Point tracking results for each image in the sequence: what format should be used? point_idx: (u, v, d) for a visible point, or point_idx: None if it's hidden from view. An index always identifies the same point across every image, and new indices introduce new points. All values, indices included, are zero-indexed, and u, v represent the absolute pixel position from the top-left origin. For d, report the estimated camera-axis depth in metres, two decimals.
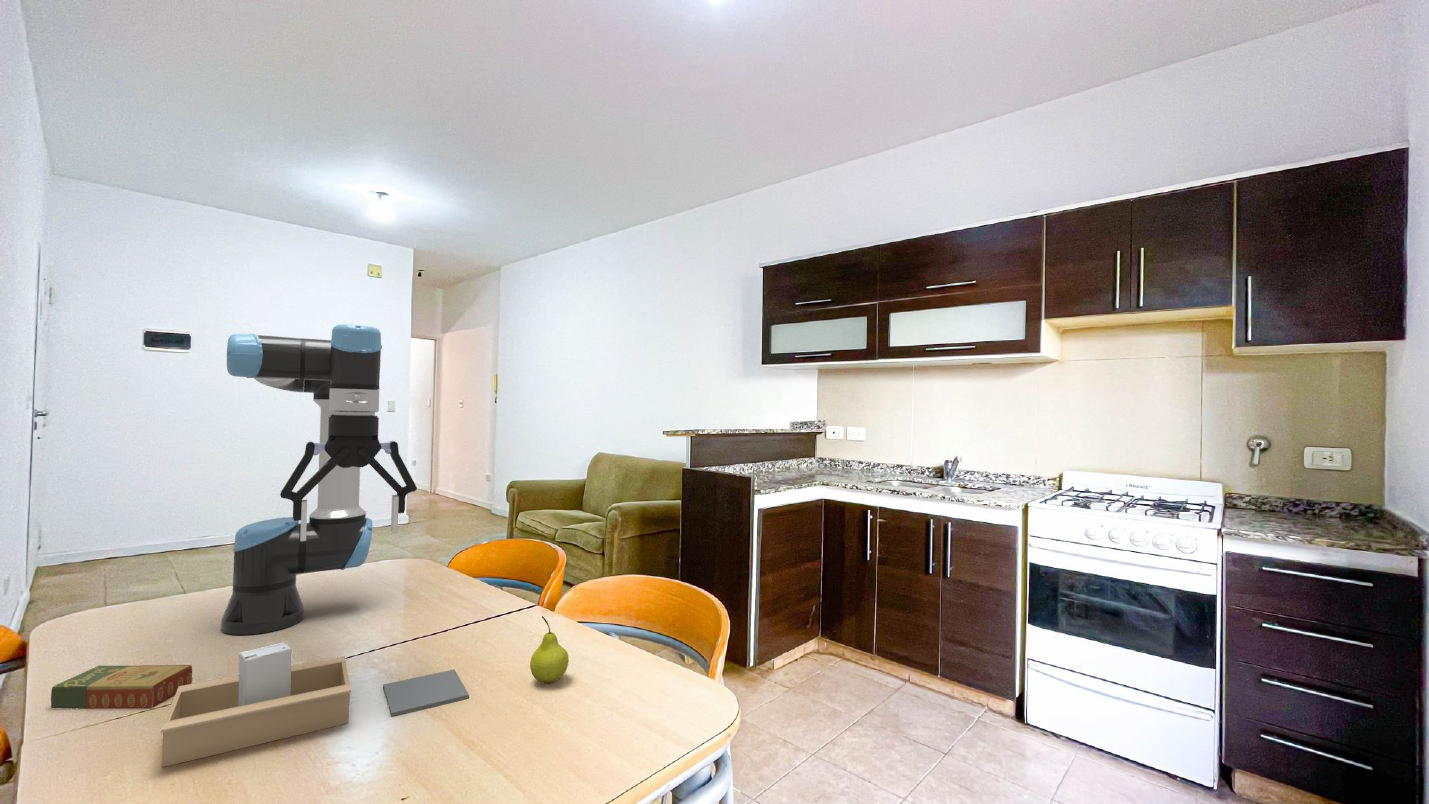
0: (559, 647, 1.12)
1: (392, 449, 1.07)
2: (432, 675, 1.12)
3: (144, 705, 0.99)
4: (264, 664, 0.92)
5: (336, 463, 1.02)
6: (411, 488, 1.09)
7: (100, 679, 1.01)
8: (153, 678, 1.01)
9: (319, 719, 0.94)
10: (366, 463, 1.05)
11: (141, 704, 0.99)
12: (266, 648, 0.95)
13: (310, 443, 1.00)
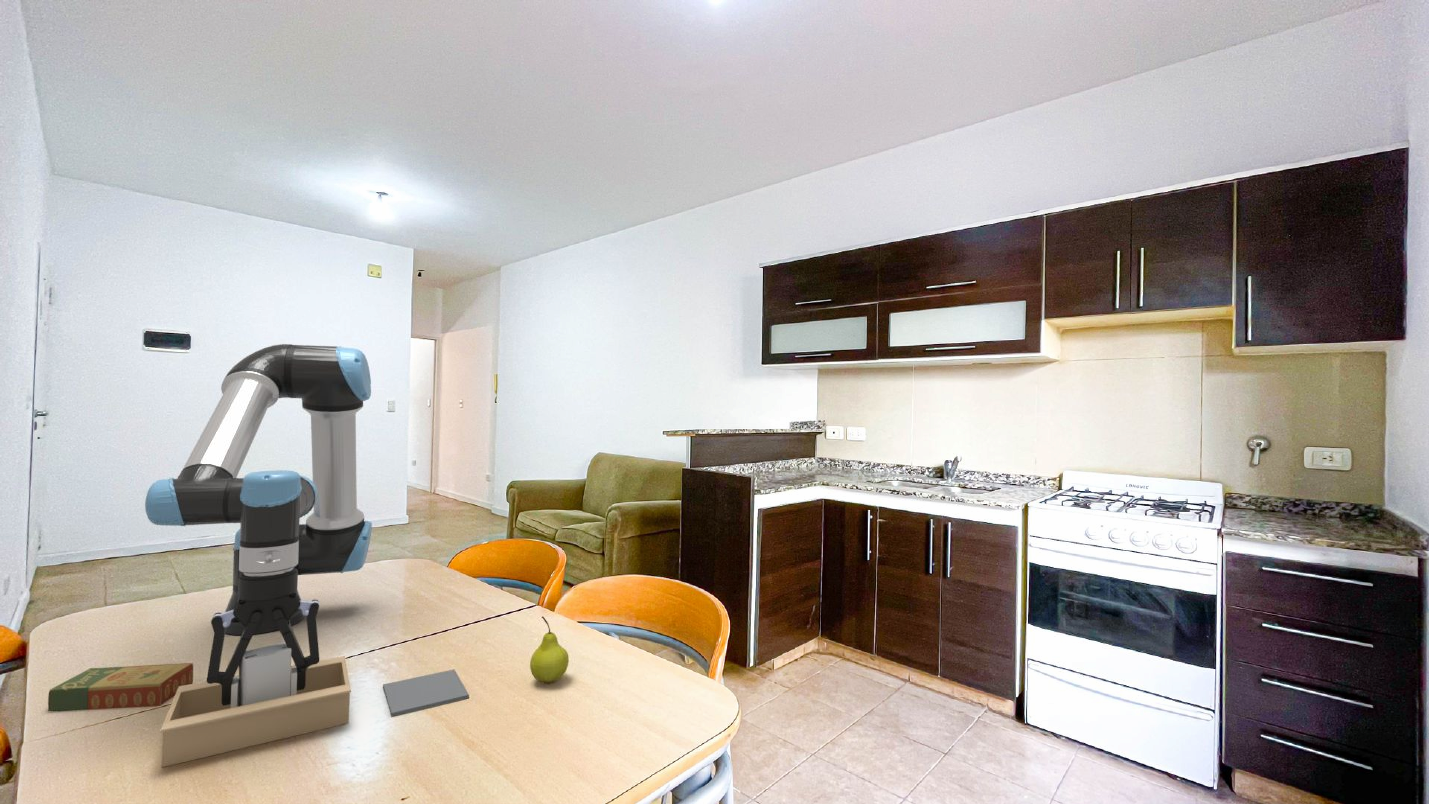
0: (559, 647, 1.12)
1: (310, 612, 0.97)
2: (432, 675, 1.12)
3: (152, 703, 1.00)
4: (264, 664, 0.92)
5: (252, 631, 0.92)
6: (313, 660, 0.97)
7: (100, 680, 1.00)
8: (158, 676, 1.02)
9: (319, 719, 0.94)
10: (276, 626, 0.94)
11: (148, 702, 0.99)
12: (266, 648, 0.95)
13: (214, 619, 0.90)
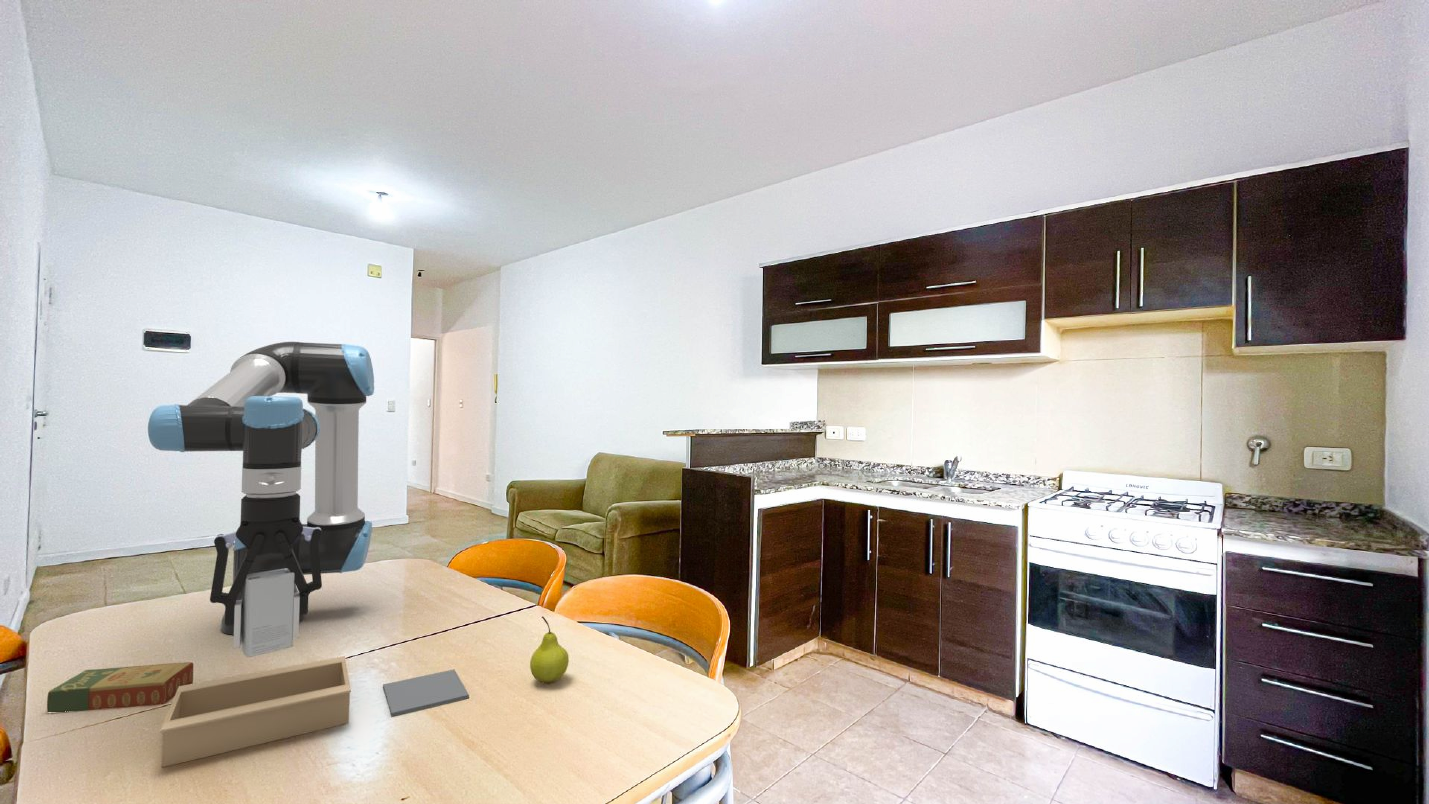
0: (559, 647, 1.12)
1: (313, 537, 0.97)
2: (432, 675, 1.12)
3: (156, 701, 1.00)
4: (267, 586, 0.93)
5: (255, 553, 0.92)
6: (315, 585, 0.97)
7: (100, 681, 1.00)
8: (161, 675, 1.02)
9: (319, 719, 0.94)
10: (278, 549, 0.94)
11: (152, 701, 1.00)
12: (269, 572, 0.95)
13: (217, 539, 0.90)
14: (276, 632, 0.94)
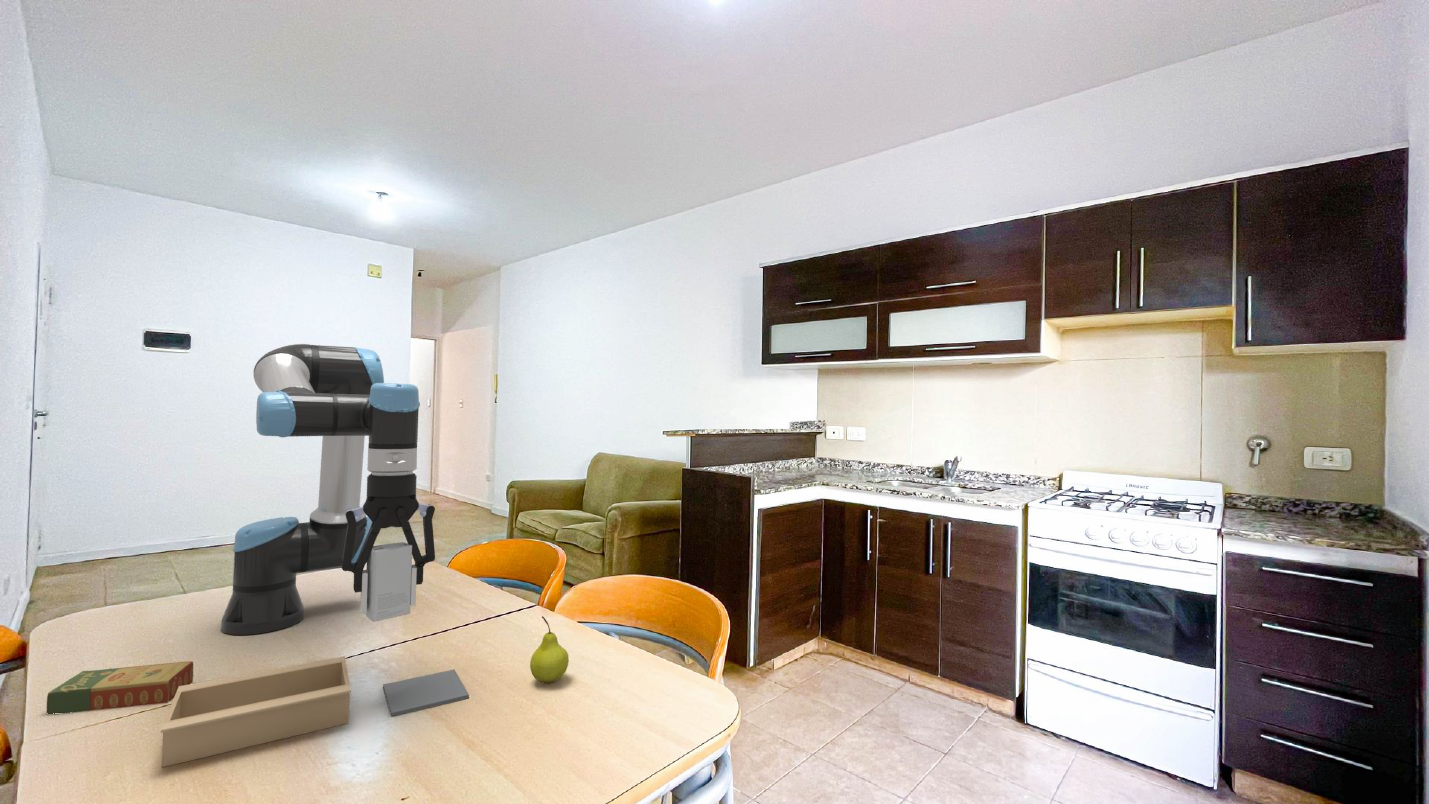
0: (559, 647, 1.12)
1: (427, 513, 1.05)
2: (432, 675, 1.12)
3: (159, 700, 1.00)
4: (390, 557, 1.01)
5: (380, 526, 1.01)
6: (429, 557, 1.06)
7: (100, 681, 1.00)
8: (163, 674, 1.03)
9: (319, 719, 0.94)
10: (399, 524, 1.03)
11: (155, 700, 1.00)
12: (390, 544, 1.03)
13: (348, 512, 0.99)
14: (397, 599, 1.02)
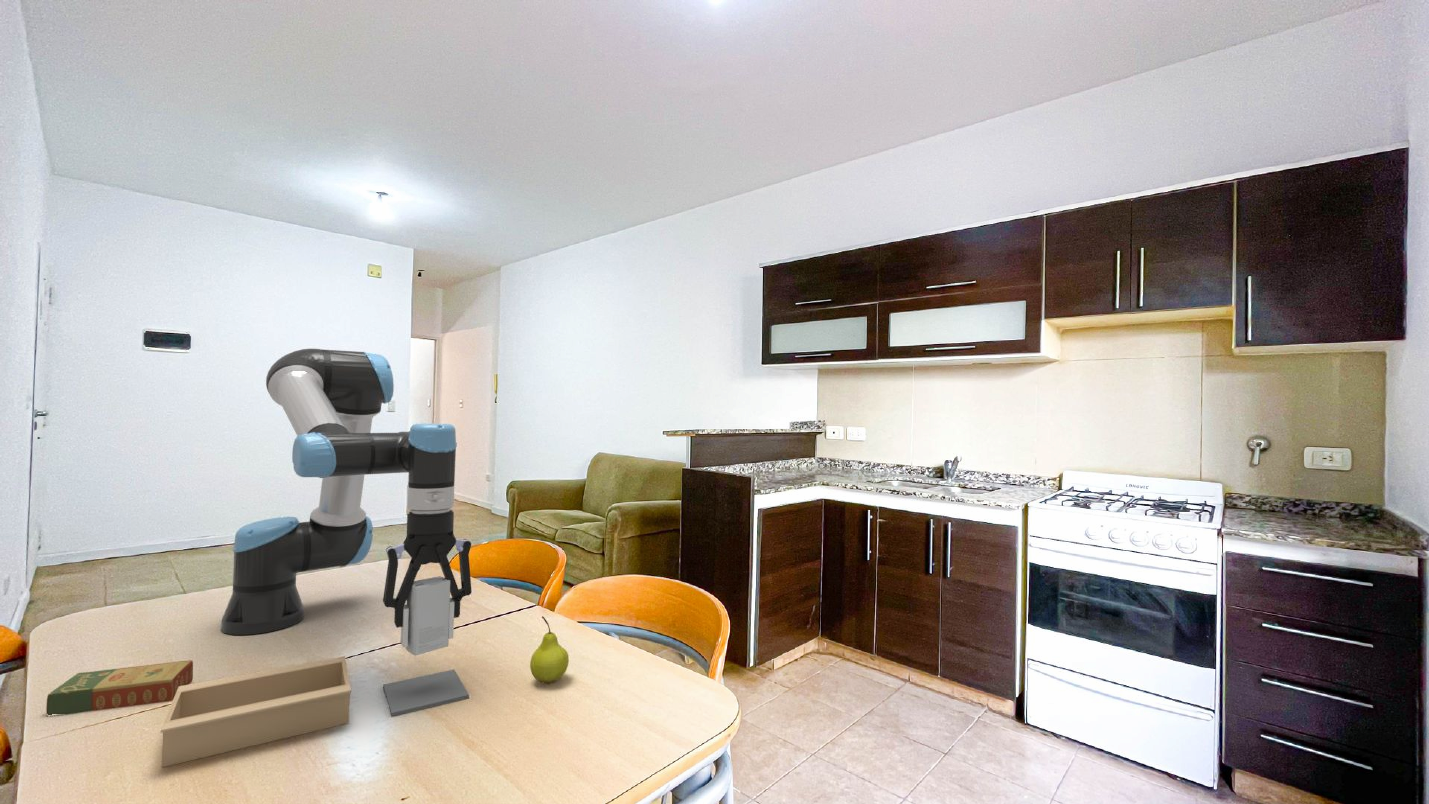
0: (559, 647, 1.12)
1: (464, 548, 1.09)
2: (432, 675, 1.12)
3: (163, 699, 1.01)
4: (430, 592, 1.05)
5: (420, 562, 1.04)
6: (466, 591, 1.09)
7: (101, 681, 1.00)
8: (165, 673, 1.03)
9: (319, 719, 0.94)
10: (437, 560, 1.07)
11: (159, 698, 1.01)
12: (429, 579, 1.07)
13: (390, 550, 1.02)
14: (437, 633, 1.06)
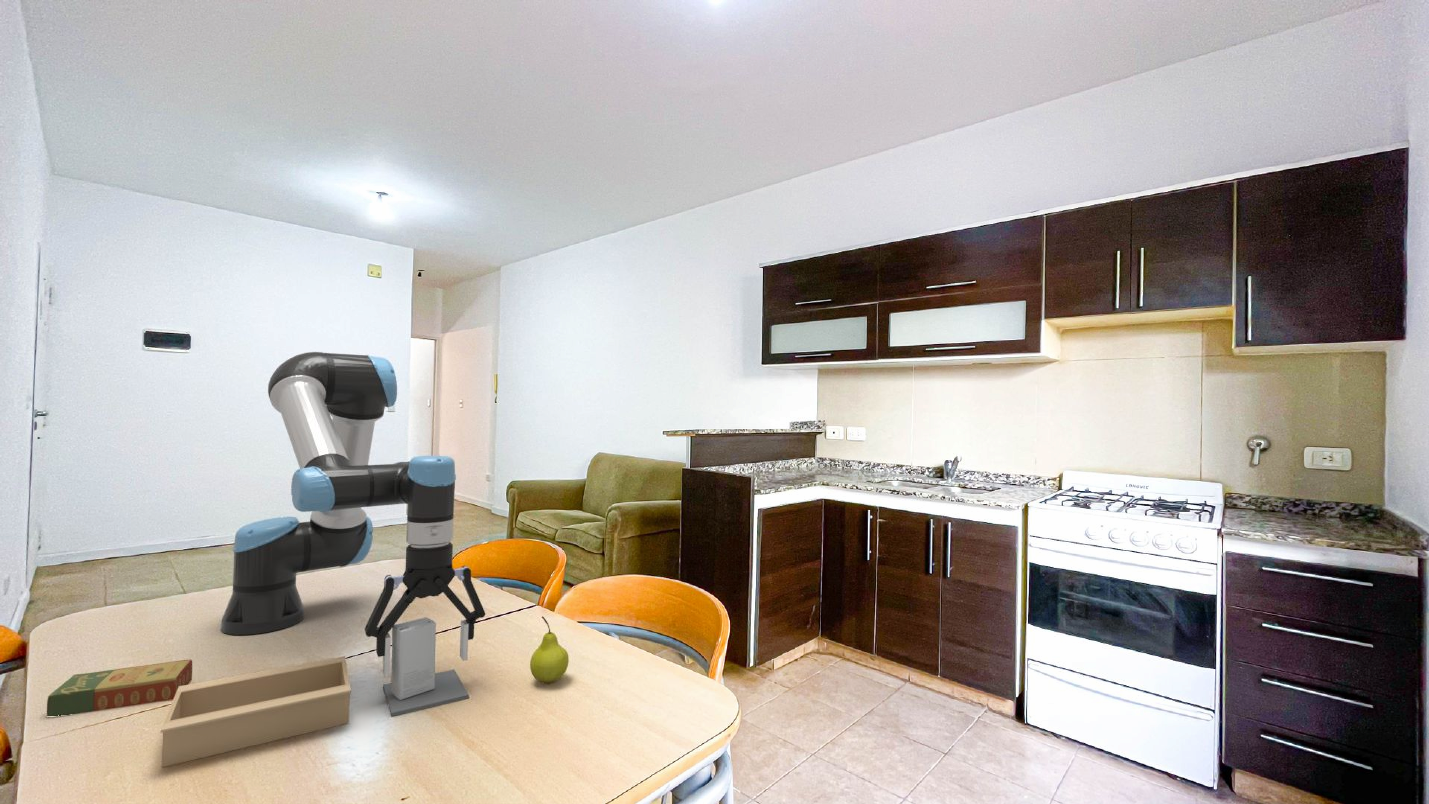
0: (559, 647, 1.12)
1: (465, 576, 1.09)
2: None
3: (166, 697, 1.02)
4: (415, 635, 1.04)
5: (415, 596, 1.04)
6: (480, 614, 1.11)
7: (102, 682, 1.00)
8: (167, 672, 1.03)
9: (319, 719, 0.94)
10: (440, 592, 1.07)
11: (163, 697, 1.01)
12: (414, 622, 1.06)
13: (389, 579, 1.02)
14: (422, 676, 1.05)
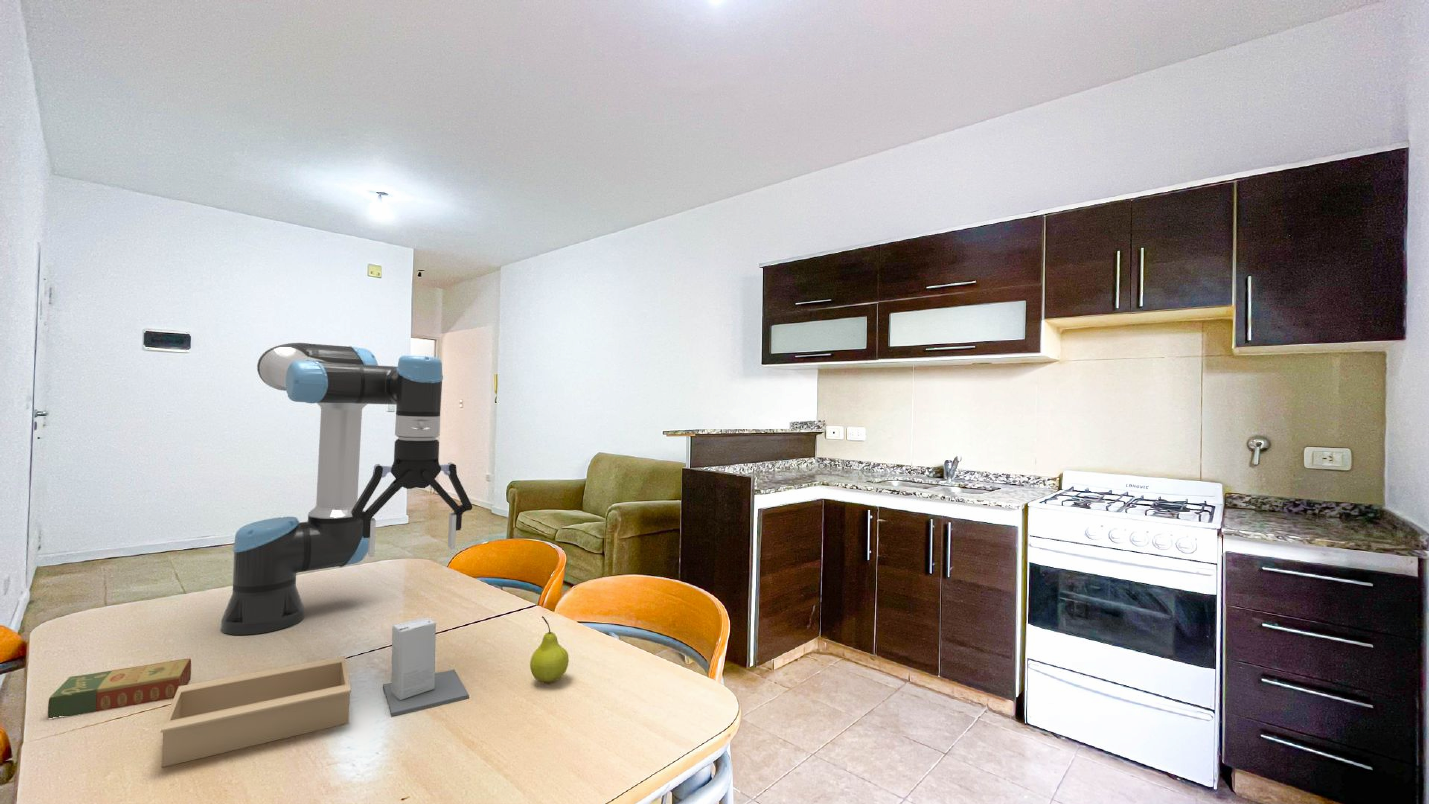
0: (559, 647, 1.12)
1: (451, 471, 1.15)
2: None
3: (170, 695, 1.02)
4: (415, 636, 1.04)
5: (401, 485, 1.10)
6: (467, 507, 1.17)
7: (103, 682, 0.99)
8: (169, 671, 1.04)
9: (319, 719, 0.94)
10: (428, 484, 1.13)
11: (167, 695, 1.02)
12: (414, 622, 1.06)
13: (379, 466, 1.08)
14: (422, 676, 1.05)
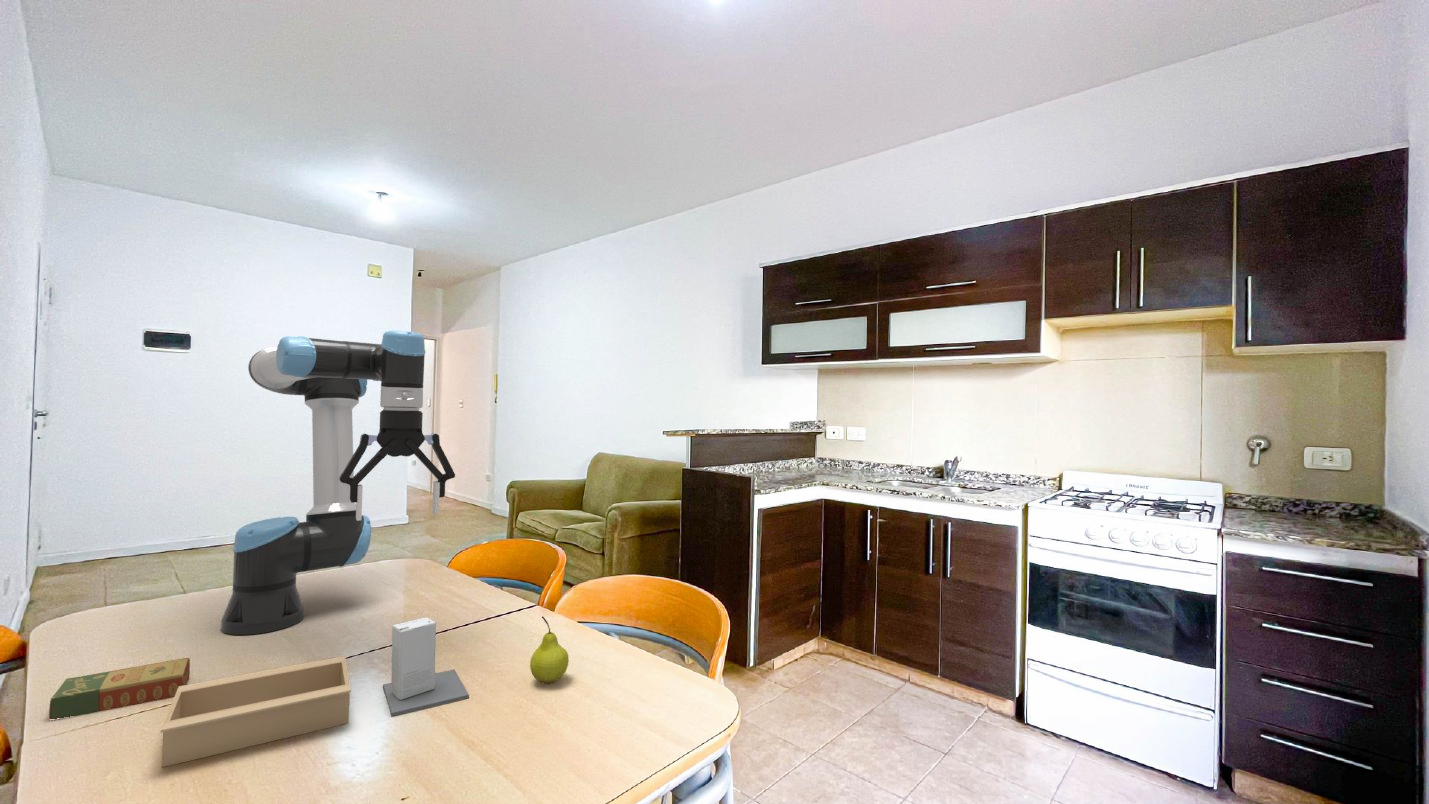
0: (559, 647, 1.12)
1: (434, 440, 1.22)
2: None
3: (174, 694, 1.03)
4: (415, 636, 1.04)
5: (387, 452, 1.16)
6: (450, 475, 1.23)
7: (104, 683, 0.99)
8: (171, 670, 1.04)
9: (319, 719, 0.94)
10: (412, 453, 1.20)
11: (170, 694, 1.02)
12: (414, 622, 1.06)
13: (365, 435, 1.15)
14: (422, 676, 1.05)
